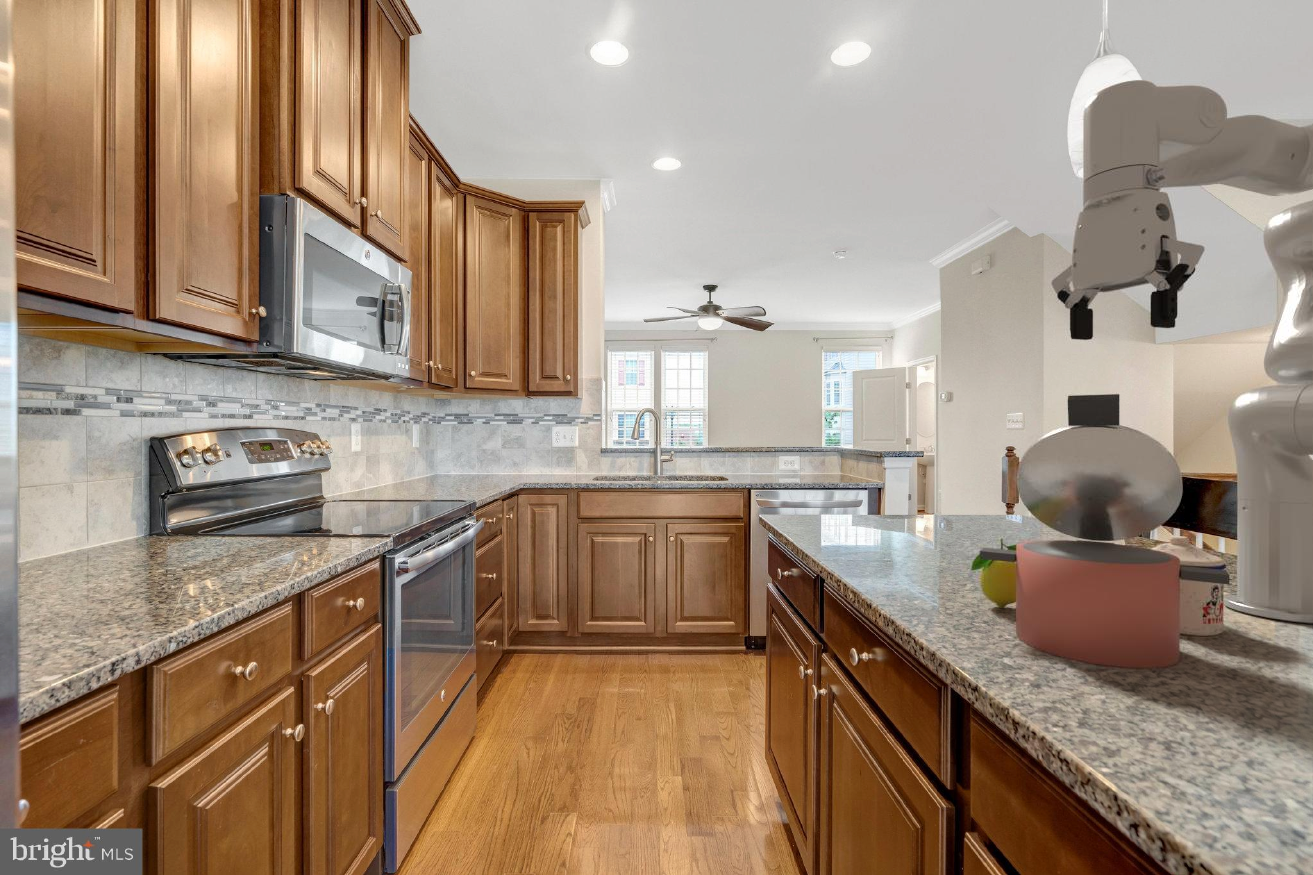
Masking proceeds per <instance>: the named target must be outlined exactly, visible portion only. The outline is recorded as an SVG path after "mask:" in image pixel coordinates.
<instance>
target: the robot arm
mask: <svg viewBox="0 0 1313 875" xmlns="http://www.w3.org/2000/svg"><path fill="white" fill-rule="evenodd" d="M1082 119H1083V122H1082V123H1083V124H1082V125H1083V133H1082V134H1083V135H1082V136H1083V138H1082V139H1083V140H1082V142H1083V144H1082V146H1083V147H1082V148H1083V151H1082V154H1083V155H1082V157H1083V158H1082V160H1083V165H1082V166H1083V167H1082V168H1083V172H1082V176H1083V181H1082V182H1083V186H1082V187H1083V189H1082V198H1083V199H1082V201H1083V202H1082V206H1083V208H1082V209H1083V210H1082V211H1080V212H1079V213H1078V216H1077V222H1076V227H1075V231H1074V236H1073V246H1072V256H1071V265H1069V266H1068V267H1067V268H1066V269H1064V270H1063V271H1062V272H1061V273H1059V274H1058V275H1057V276H1056V277H1055V278H1053V279H1052V281H1051V286H1052V288H1053V290H1054V292H1055V294H1057V300H1059V301H1061V303H1063V304H1064V307H1065V309H1069V332H1070V338H1071V340H1081V341H1088V340H1092V339H1093V337H1094V310H1093V308H1089V306H1090V304H1092V302H1093V301H1094V299H1095V298H1096V297H1097V295H1098V294H1099V293H1109V292H1114V291H1121V290H1125V289H1129V288H1134V287H1140V286H1144V285H1149V284H1151V285H1152V286H1153V287H1154V288H1155V289H1156V290H1155V291H1151V294H1150V326H1151V327H1153V328H1161V329H1172V328H1175V327H1176V319H1177V317H1178V293H1179V292H1181V291H1183V289H1184V288H1185V287H1184V285H1185V283H1186V282H1187V281H1188V280H1189V279H1191V277H1192V276H1193V275H1194V273H1195V272H1196V266H1197V265H1198V264H1199V261H1200V260H1201V258H1202V256H1203V254H1204V252H1205V247H1204V246H1203V245H1201V244H1196V243H1191V242H1187V241H1183V240H1178V238H1177V227H1176V222H1175V217H1174V212H1173V209H1172V205H1171V200H1170V198H1169V195H1168V193H1167V192H1165V191H1160V190H1161V189H1167V188H1182V187H1183V188H1185V187H1186V188H1187V187H1189V188H1190V187H1201V186H1210V185H1223V186H1227V187H1232V188H1236V189H1240V190H1245V191H1248V192H1252V193H1256V194H1257V193H1258V194H1260V195H1264V196H1269V197H1284V196H1290V195H1291V196H1292V195H1296V194H1297V195H1298V194H1300V193H1305V192H1309V191H1311V190H1313V123H1311V124H1308V125H1305V126H1297V125H1292V124H1289V123H1287V122H1286V123H1285V122H1283V121H1279V120H1276V119H1274V118H1271V117H1267V116H1265V115H1260V114H1245V115H1244V114H1243V115H1239V116H1231V117H1228V108H1227V104H1226V103H1225V101H1224V99H1223V98H1222V96H1221V95H1220V94H1219V93H1218V92H1217V91H1214V90H1213V89H1211V88H1208V87H1206V86H1200V85H1172V86H1171V85H1169V86H1157V85H1156V84H1155V83H1153V82H1151V81H1149V80H1144V79H1143V80H1141V79H1138V80H1136V79H1134V80H1129V81H1123V82H1122V81H1121V82H1118V83H1116V84H1113V85H1110V86H1108V87H1105V88H1103V89H1101V90H1100V91H1098V92H1096V93H1095V94H1094V95H1093V96H1091V98H1090V99H1088V101H1087V103H1086V104H1085V107H1084V110H1083V118H1082ZM1263 231H1264V232H1263V246H1264V250H1265V251H1266V254H1267V256H1268V258H1269V260H1270V262H1271V265H1272V267H1273V269H1274V272H1275V273H1276V275H1277V278H1278V279H1279V282H1280V284H1281V286H1282V290H1283V291H1282V292H1283V298H1282V303H1281V306H1280V310H1279V311H1278V315H1277V318H1276V320H1275V324H1274V326H1273V329H1272V333H1271V335H1270V338H1269V340H1268V343H1267V347H1266V351H1265V354H1264V359H1263V366H1264V371H1265V373H1266V375H1267V377H1269V378H1270V379H1271V380H1272V381H1274V382H1277V383H1279V384H1278V385H1277V384H1276V385H1268V386H1263V387H1256V388H1253V389H1250V390H1248V391H1246V392H1243V393H1241V394H1240V395H1239V396H1237V397H1236V398H1235V399H1234V400H1233V402H1232V403H1231V404H1230V406H1229V409H1228V414H1227V420H1228V421H1227V424H1228V428H1229V434H1230V438H1231V441H1232V445H1233V450H1234V456H1235V460H1236V461H1235V463H1236V478H1237V479H1236V482H1237V487H1236V488H1237V489H1236V490H1237V497H1236V498H1237V515H1236V516H1237V521H1236V522H1237V524H1236V525H1237V530H1236V531H1237V534H1236V535H1237V545H1236V546H1237V547H1236V551H1237V558H1236V560H1237V563H1236V570H1237V571H1236V576H1237V577H1236V579H1237V580H1236V583H1237V585H1236V586H1237V587H1236V592H1228V593H1224V599H1223V606H1224V605H1225V606H1226V607H1227V608H1229V609H1232V610H1235V611H1238V612H1242V613H1245V614H1249V615H1252V616H1257V617H1262V618H1268V619H1272V620H1280V621H1287V622H1293V623H1305V624H1313V458H1312V457H1311V456H1313V199H1312V200H1309V201H1305V202H1303V203H1299V204H1296V205H1292V206H1291V207H1289V208H1286V209H1283V210H1282V211H1280V212H1278V213H1276V214H1274V216H1273V217H1271V218H1270V219H1269V221H1268V222H1267V223H1266V225H1265V227H1264V230H1263ZM1179 255H1180V259H1179ZM1071 282H1072V287H1073V288H1074V289H1073V290H1071V286H1070V283H1071Z"/></svg>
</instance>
